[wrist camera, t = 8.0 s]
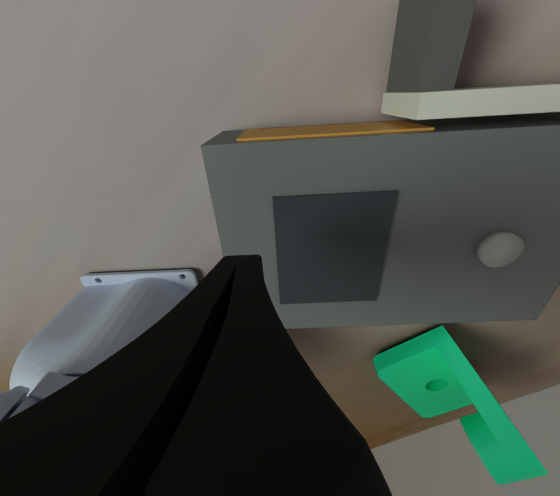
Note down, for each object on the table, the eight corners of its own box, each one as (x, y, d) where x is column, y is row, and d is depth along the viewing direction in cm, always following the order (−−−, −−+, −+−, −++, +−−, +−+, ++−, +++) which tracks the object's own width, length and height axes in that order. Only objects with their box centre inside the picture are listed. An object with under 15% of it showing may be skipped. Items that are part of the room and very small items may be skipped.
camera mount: (365, 349, 27) (408, 475, 18) (436, 316, 24) (526, 444, 15) (414, 396, 31) (466, 514, 23) (477, 373, 29) (564, 495, 20)
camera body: (246, 283, 22) (237, 337, 17) (222, 129, 15) (196, 145, 11) (508, 272, 21) (575, 325, 16) (595, 107, 15) (747, 114, 10)
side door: (380, 113, 14) (416, 120, 11) (397, -7, 12) (451, -53, 8) (559, 102, 14) (659, 105, 10) (616, -23, 12) (777, -78, 8)
